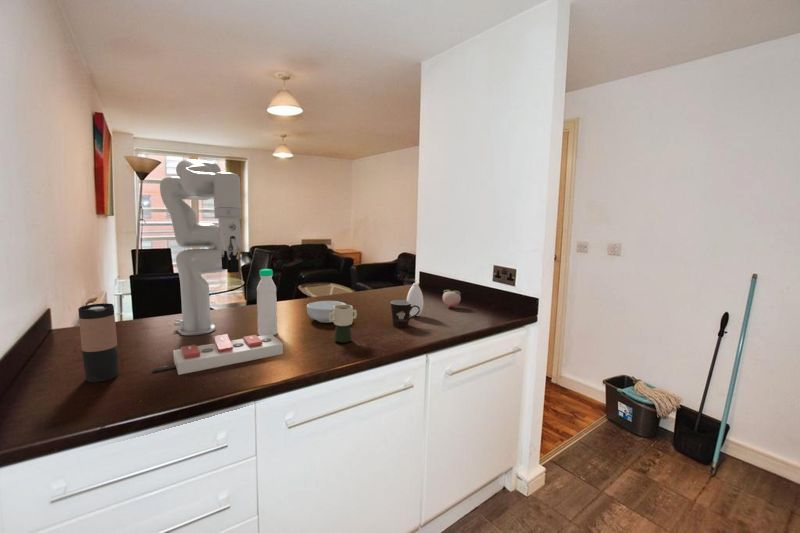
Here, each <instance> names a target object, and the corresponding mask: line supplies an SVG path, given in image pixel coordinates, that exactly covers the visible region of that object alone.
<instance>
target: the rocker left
mask: <svg viewBox="0 0 800 533" xmlns="http://www.w3.org/2000/svg"><path fill="white" fill-rule="evenodd" d="M197 346H198V345H197V344H190V345H184V346H181V347H180V349H181V350H182V353H183V355H184V358H189V357H195V356H200V351H199V349H198V347H197Z"/></svg>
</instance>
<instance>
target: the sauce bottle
mask: <svg viewBox="0 0 800 533" xmlns="http://www.w3.org/2000/svg"><path fill="white" fill-rule="evenodd" d="M406 301H409V302H411V307H412V306H414V305H416V306H418V307H419V308H420V312H419V313H418V311H419V309H418V308H417V307H413V308H412V309H411V311H410V317H412V316H414V315H415V314H417V313H418V314H417V315H416V316H417V317H418V316H419V315H420V314H421V313H422V312H423V309H424V296H423V292H422V289H421V287H420V286H419V283H417V278H415V279H414V283H413V284H412V285H411V287H410V288H409V290H408V292H407V296H406Z"/></svg>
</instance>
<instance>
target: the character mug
mask: <svg viewBox="0 0 800 533" xmlns="http://www.w3.org/2000/svg"><path fill="white" fill-rule="evenodd" d="M332 315H333V319H331V316H332ZM357 316H358V311H357V310H356V309H354V307H353V305H351V304H346V305H335V306H334V307H333V313H329V323H333V324H334V325H335V326H336V327H335V331H334V339H333V340H334V341H336V342H338V343H349V342H350V341H352V339H353V338H352V331H351V327H350V325H352V324H353V323H354V322H353V321H354V320H355V319H357Z"/></svg>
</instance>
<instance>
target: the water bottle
mask: <svg viewBox="0 0 800 533" xmlns="http://www.w3.org/2000/svg"><path fill="white" fill-rule="evenodd" d="M273 271H274V270H273V269H272V268H263V269H260V270H259V272H258V273H259V277H260V280H259V282H258V285H257V287H256V292H257V293H256V309H257V310H256V311H257V336H262V335H268V334H272V335H273V336H275V335H277V333H278V325H277V324H278V316H277V312H278V310H277V309H278V307H277V306H278V305H277V304H278V303H277V300H278V299H277V286H276V284H275V282H274V280H273V278H272V277H273V275H274V272H273Z"/></svg>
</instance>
